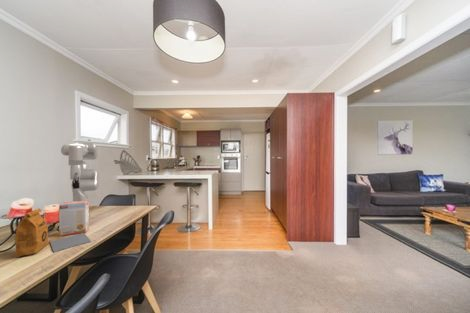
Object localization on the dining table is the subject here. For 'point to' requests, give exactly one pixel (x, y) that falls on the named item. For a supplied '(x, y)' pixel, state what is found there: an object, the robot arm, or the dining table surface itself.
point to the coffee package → (31, 234)
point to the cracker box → (73, 218)
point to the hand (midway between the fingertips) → (75, 187)
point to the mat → (69, 242)
